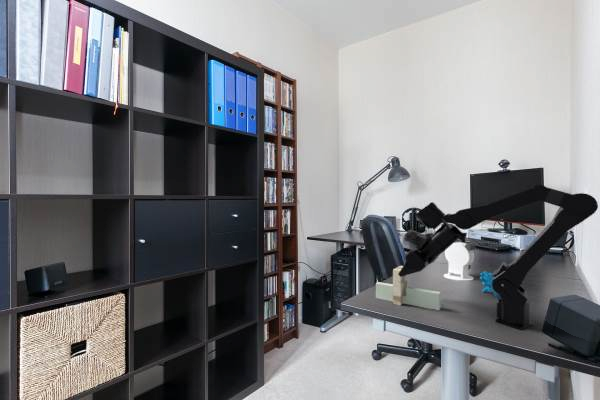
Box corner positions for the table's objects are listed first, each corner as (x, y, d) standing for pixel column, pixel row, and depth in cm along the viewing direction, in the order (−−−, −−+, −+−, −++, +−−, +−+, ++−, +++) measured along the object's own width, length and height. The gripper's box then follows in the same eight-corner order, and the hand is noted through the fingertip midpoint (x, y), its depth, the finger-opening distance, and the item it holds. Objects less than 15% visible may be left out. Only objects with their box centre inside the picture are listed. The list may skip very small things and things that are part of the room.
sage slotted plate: (440, 308, 96) (440, 292, 96) (439, 310, 94) (439, 293, 94) (377, 296, 107) (377, 282, 107) (375, 298, 106) (375, 283, 106)
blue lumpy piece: (494, 295, 103) (477, 269, 110) (481, 304, 107) (465, 278, 114) (516, 295, 108) (498, 270, 114) (503, 304, 111) (486, 279, 118)
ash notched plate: (399, 298, 105) (400, 265, 105) (407, 299, 104) (407, 266, 104) (392, 304, 100) (393, 269, 100) (400, 305, 98) (400, 270, 98)
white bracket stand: (480, 278, 130) (480, 243, 130) (464, 282, 125) (464, 245, 125) (454, 272, 141) (454, 239, 141) (437, 276, 135) (437, 241, 135)
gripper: (427, 219, 106) (395, 249, 112) (412, 223, 90) (376, 257, 97) (453, 244, 101) (418, 274, 108) (441, 253, 86) (401, 287, 92)
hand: (403, 272), depth 101 cm, fingers open, 9 cm apart
